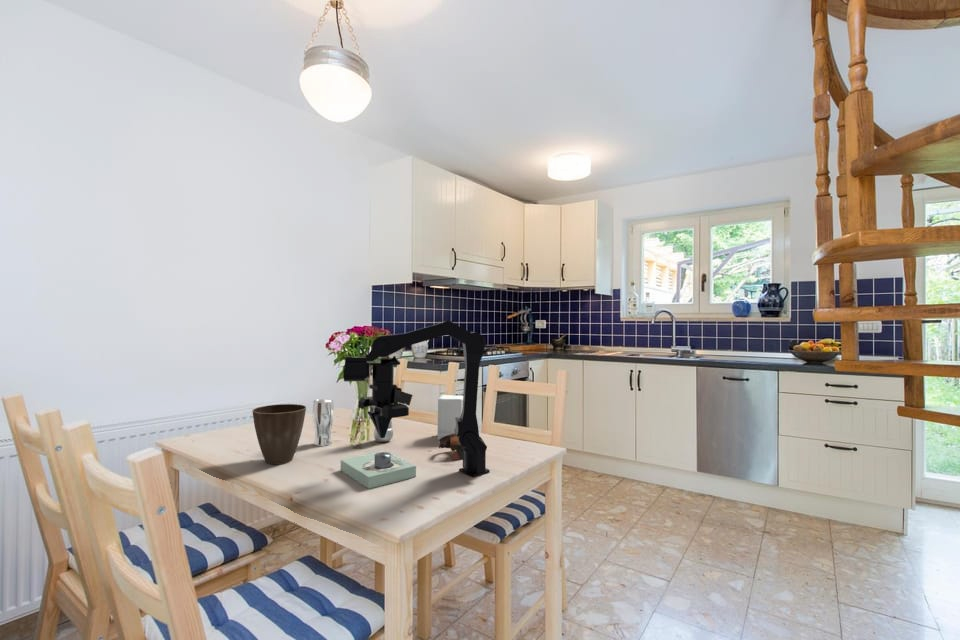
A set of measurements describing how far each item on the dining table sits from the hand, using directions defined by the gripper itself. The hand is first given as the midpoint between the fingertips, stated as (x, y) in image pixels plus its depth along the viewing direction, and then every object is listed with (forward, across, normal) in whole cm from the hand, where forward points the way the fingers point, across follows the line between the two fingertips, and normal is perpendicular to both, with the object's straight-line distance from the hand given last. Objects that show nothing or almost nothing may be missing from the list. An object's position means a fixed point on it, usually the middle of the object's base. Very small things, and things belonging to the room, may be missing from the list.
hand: (382, 437), depth 121 cm
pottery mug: (+11, +2, -28) cm, 30 cm away
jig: (+11, +3, 0) cm, 11 cm away
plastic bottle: (+11, +32, -17) cm, 38 cm away
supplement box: (+11, +21, -39) cm, 46 cm away
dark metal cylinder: (+11, 0, 0) cm, 11 cm away
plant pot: (+11, +32, +18) cm, 38 cm away
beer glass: (+11, +42, +1) cm, 43 cm away
